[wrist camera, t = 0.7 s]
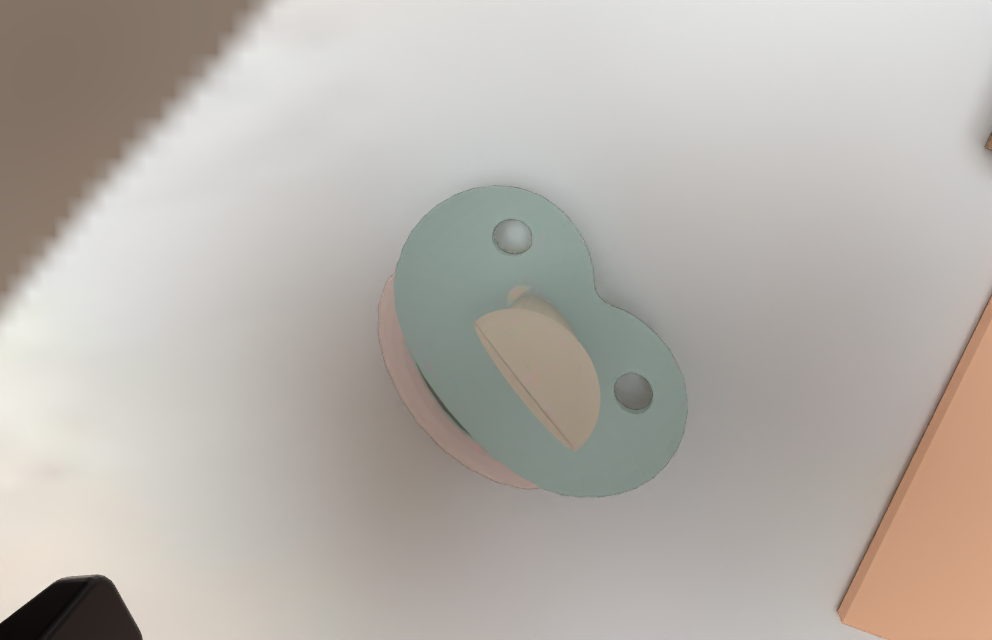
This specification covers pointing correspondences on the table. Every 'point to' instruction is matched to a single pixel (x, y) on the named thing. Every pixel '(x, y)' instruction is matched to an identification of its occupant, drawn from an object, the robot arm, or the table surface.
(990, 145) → the walnut bracket
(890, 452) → the table surface
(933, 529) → the pad
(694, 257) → the table surface
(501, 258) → the pacifier
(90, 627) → the robot arm
